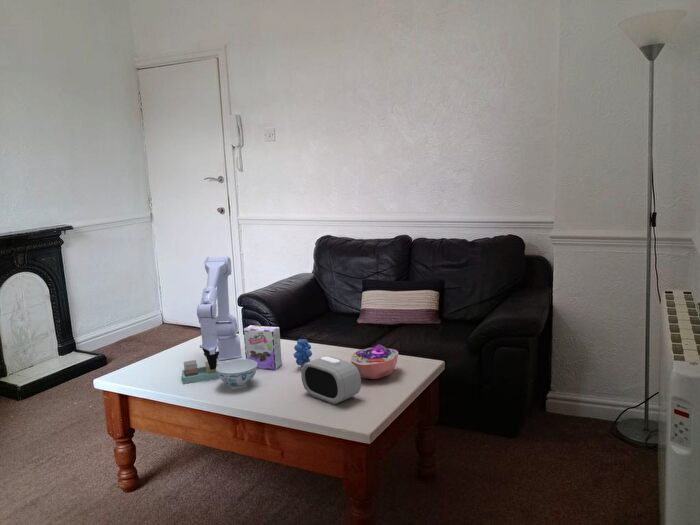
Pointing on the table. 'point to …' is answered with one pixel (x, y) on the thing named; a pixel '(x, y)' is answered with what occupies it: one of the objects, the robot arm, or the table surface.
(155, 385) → the table surface
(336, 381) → the alarm clock
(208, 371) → the carton
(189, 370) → the tin
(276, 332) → the candy box
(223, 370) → the chinaware
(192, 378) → the tray
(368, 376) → the cell model
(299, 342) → the grapes
